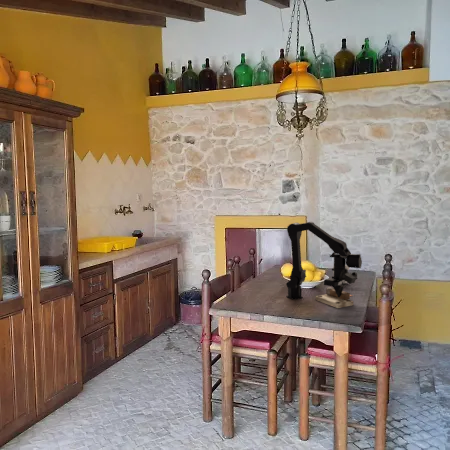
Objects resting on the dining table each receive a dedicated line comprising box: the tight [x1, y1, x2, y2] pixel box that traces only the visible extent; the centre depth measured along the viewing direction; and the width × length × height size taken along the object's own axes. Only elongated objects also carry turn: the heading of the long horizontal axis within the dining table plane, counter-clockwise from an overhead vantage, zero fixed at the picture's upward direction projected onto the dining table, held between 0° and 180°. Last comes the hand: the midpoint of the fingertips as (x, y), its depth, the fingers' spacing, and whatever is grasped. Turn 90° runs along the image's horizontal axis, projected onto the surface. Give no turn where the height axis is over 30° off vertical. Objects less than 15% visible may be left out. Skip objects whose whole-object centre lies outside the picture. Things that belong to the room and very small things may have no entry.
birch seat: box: [315, 293, 354, 309], centre depth 221 cm, size 10×17×2 cm, turn 25°
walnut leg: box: [325, 286, 351, 300], centre depth 223 cm, size 14×4×3 cm, turn 30°
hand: (339, 297), depth 218 cm, fingers closed
